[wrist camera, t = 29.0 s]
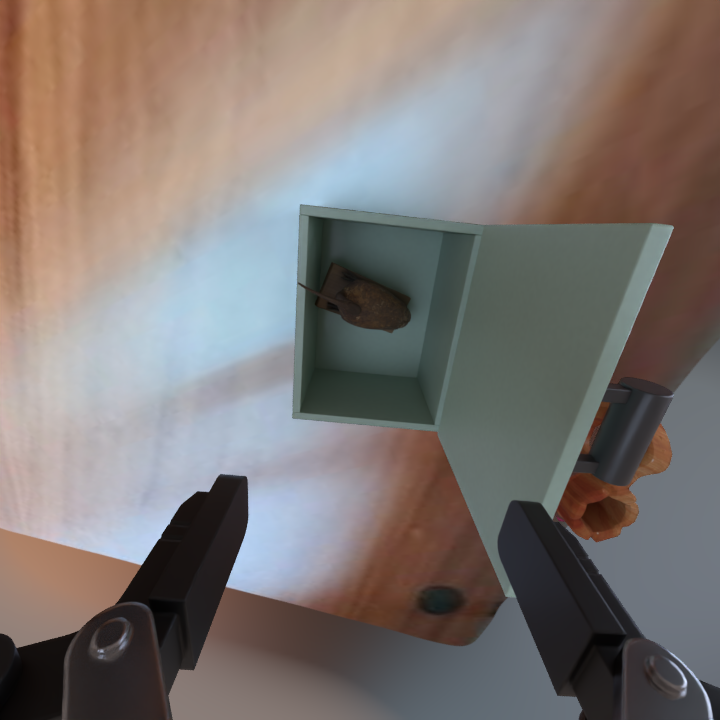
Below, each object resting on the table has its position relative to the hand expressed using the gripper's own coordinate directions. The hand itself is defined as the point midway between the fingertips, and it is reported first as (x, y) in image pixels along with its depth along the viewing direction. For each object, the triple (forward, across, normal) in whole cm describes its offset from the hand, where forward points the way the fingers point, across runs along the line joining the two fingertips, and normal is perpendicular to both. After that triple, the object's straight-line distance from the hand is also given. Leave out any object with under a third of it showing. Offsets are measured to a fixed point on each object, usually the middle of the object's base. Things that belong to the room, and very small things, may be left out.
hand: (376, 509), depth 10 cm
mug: (+30, -24, +12) cm, 41 cm away
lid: (+11, -8, 0) cm, 14 cm away
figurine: (+26, +2, -2) cm, 27 cm away
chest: (+30, -1, 0) cm, 30 cm away
